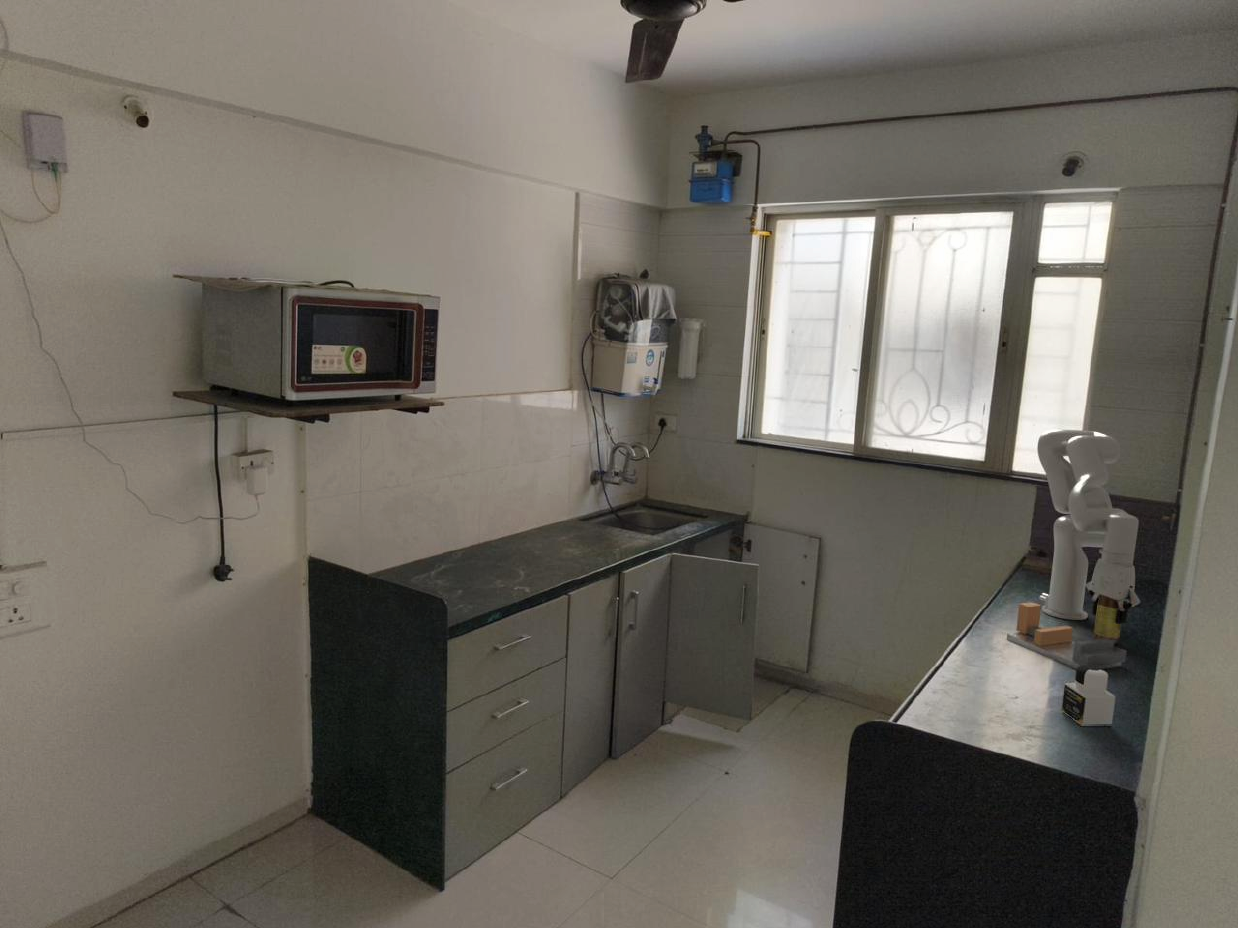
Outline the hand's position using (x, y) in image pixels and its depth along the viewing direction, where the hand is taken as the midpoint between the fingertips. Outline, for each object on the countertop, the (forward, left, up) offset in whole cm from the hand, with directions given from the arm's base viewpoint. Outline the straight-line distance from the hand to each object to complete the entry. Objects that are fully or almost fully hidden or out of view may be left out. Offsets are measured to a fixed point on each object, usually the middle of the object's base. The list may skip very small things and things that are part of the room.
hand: (1108, 618), depth 225 cm
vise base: (+3, -20, -7) cm, 22 cm away
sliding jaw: (-5, -20, -5) cm, 22 cm away
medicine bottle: (+34, -51, -7) cm, 62 cm away
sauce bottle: (0, 0, -7) cm, 7 cm away
